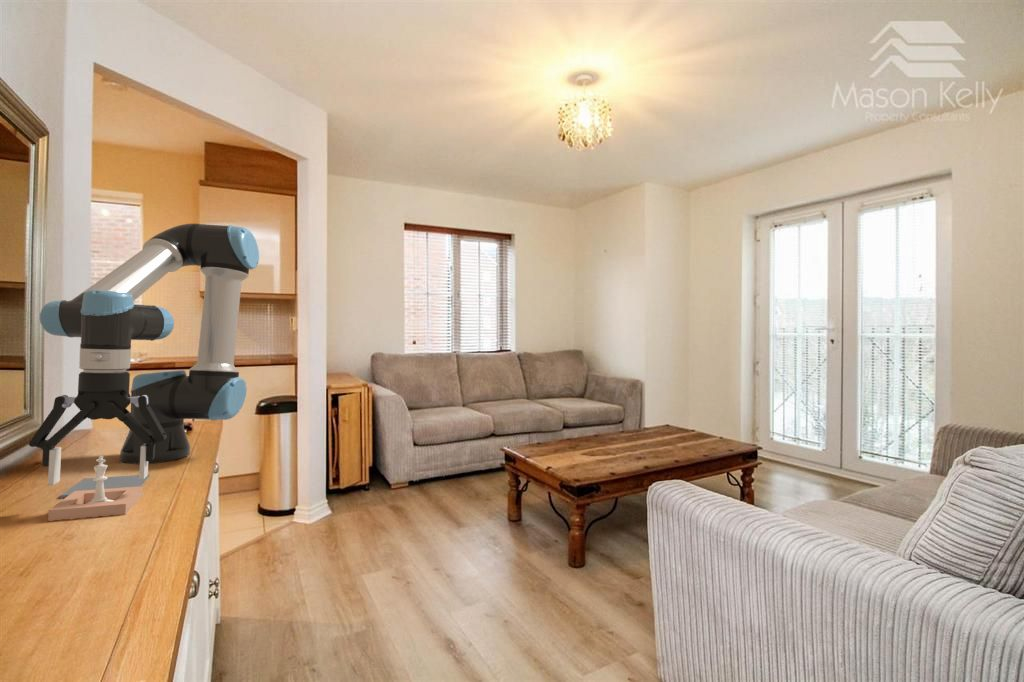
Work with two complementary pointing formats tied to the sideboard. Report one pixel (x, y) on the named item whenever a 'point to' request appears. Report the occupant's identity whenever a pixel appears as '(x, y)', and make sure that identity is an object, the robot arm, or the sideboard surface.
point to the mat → (106, 483)
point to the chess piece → (100, 482)
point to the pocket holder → (77, 508)
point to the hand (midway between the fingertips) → (100, 480)
